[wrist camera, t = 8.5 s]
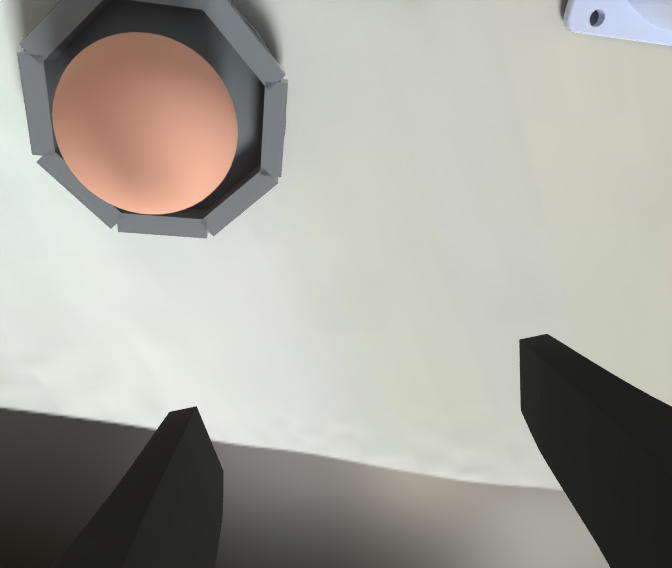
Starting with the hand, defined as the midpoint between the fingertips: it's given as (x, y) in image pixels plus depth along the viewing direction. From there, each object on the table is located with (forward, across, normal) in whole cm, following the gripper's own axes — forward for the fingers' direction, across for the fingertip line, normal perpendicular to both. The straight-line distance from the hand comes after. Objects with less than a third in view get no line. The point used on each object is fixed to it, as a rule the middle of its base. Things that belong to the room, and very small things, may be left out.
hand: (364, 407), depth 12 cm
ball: (+10, +5, -6) cm, 12 cm away
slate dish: (+10, +4, -6) cm, 13 cm away
